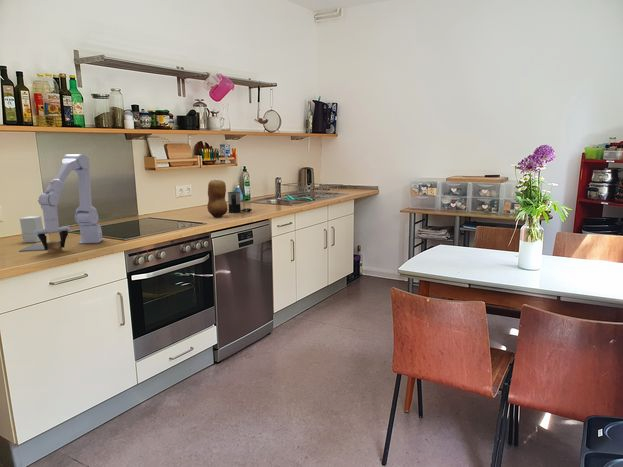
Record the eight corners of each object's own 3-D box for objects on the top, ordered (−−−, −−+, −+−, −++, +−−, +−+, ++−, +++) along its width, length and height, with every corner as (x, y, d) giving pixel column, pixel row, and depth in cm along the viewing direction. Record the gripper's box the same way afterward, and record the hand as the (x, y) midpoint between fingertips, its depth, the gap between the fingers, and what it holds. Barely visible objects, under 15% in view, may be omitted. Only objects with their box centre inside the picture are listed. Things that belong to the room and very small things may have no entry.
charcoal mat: (62, 244, 227) (62, 243, 227) (51, 250, 214) (51, 248, 214) (32, 245, 225) (32, 244, 225) (19, 251, 212) (19, 250, 212)
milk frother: (226, 212, 333) (225, 191, 331) (247, 210, 340) (246, 190, 337) (232, 214, 321) (231, 193, 318) (253, 212, 327) (252, 192, 324)
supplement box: (45, 239, 240) (42, 215, 238) (37, 242, 233) (34, 217, 230) (30, 239, 240) (27, 216, 238) (22, 242, 233) (19, 218, 230)
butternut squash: (229, 217, 305) (227, 180, 300) (209, 219, 300) (207, 181, 295) (225, 215, 317) (223, 179, 313) (206, 216, 312) (203, 179, 308)
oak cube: (62, 250, 213) (61, 240, 212) (58, 252, 209) (57, 242, 208) (51, 250, 212) (50, 241, 211) (47, 252, 208) (46, 243, 207)
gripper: (65, 216, 215) (68, 244, 218) (30, 220, 205) (34, 249, 208) (70, 218, 211) (73, 246, 213) (35, 222, 200) (38, 252, 203)
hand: (54, 248), depth 210 cm, fingers closed on oak cube, 6 cm apart
